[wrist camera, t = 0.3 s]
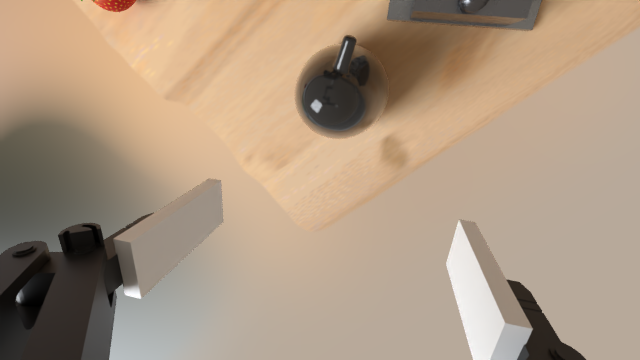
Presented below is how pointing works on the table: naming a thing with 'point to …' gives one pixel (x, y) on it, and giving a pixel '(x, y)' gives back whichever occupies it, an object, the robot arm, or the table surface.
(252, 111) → the table surface
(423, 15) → the tray unit
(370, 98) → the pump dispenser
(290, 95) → the table surface
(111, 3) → the fruit
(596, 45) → the table surface
